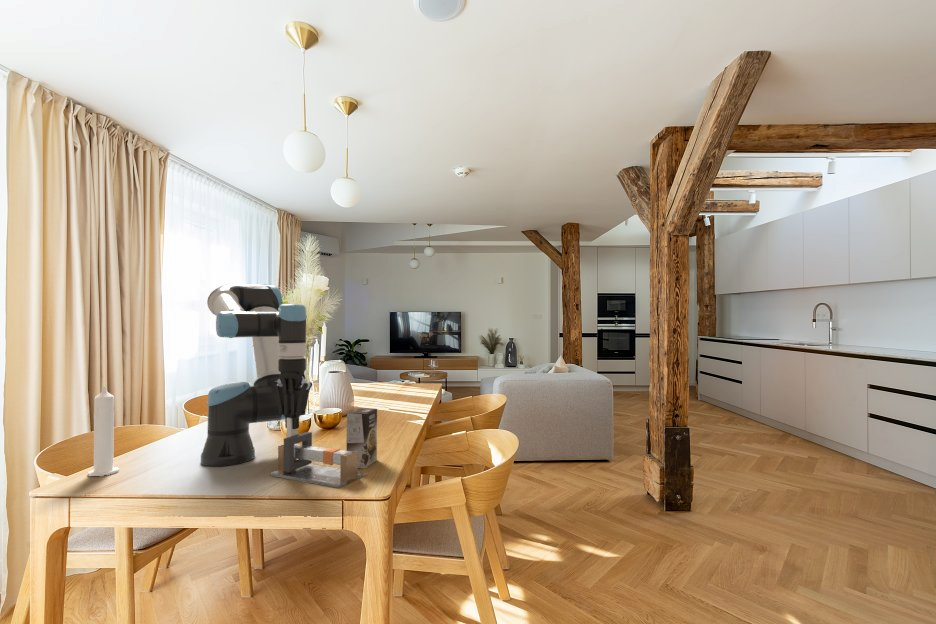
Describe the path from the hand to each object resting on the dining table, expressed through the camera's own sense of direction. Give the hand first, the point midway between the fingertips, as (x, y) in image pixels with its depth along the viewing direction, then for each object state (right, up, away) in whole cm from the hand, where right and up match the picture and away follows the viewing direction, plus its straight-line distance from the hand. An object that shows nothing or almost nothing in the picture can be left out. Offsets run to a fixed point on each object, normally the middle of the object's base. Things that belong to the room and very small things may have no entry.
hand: (292, 439), depth 140 cm
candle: (-53, -9, -2) cm, 54 cm away
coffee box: (+18, -10, +8) cm, 22 cm away
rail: (+8, -9, -4) cm, 13 cm away
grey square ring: (+2, -8, -1) cm, 8 cm away
